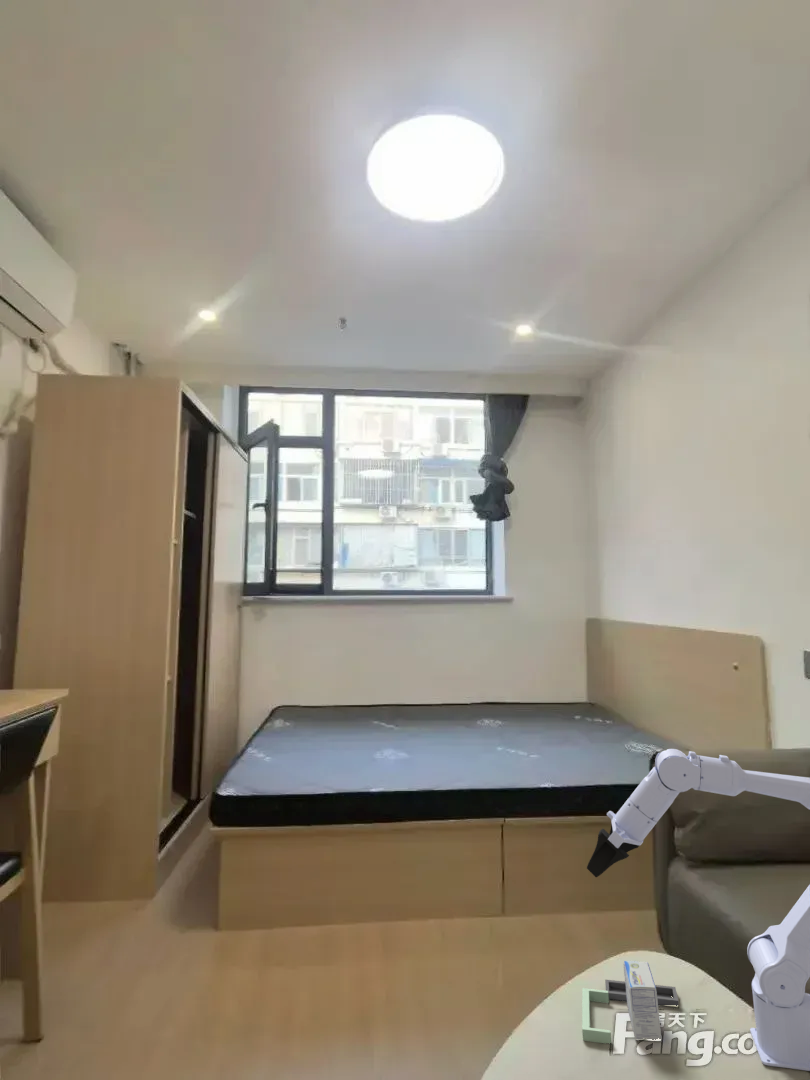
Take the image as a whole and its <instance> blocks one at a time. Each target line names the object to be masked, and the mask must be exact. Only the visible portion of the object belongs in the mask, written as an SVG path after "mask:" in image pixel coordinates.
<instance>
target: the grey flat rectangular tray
mask: <svg viewBox="0 0 810 1080" xmlns="http://www.w3.org/2000/svg"><path fill="white" fill-rule="evenodd" d="M655 987H656V991H657V1000H658V1006H659V1005H676V1006H677V1005H679V1006H680V1003H679V998H678V992H677V988H676V986H668V985H660V984H655ZM671 996H672V997H673V998H672V997H671Z"/></svg>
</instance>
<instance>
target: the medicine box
mask: <svg viewBox="0 0 810 1080" xmlns="http://www.w3.org/2000/svg"><path fill="white" fill-rule="evenodd" d="M623 972H624V973H623V974H624V982H625V985H626V997H627V1002H626V1005H627V1012H628V1017H629V1019H630V1023H631V1027H632V1032H633V1037H634V1040H635V1039H643V1038H645V1039H646V1038H647V1039H652V1040H654V1039H655V1040H656V1039H658V1038H659V1039H661V1040H663V1038H662V1032H661V1031H662V1030H661V1022H660V1011H659V1005H658V1000H657V991H656V987H655V985H656V984H655V982H654V977H653V973H652V971H651V968H650V964H649V962H648V961H638V960H637V961H636V960H623Z"/></svg>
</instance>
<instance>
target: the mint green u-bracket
mask: <svg viewBox="0 0 810 1080" xmlns="http://www.w3.org/2000/svg"><path fill="white" fill-rule="evenodd" d="M581 991H582V992H581V994H582V995H581V1001H582V1002H581V1007H582V1008H581V1016H582V1017H581V1030H582V1031H581V1033H582V1041H585V1042H591V1043H592V1042H593V1043H598V1044H599V1043H601V1044H606V1043H609V1044H608V1045H611V1044H610V1043H612V1034H611V1032H612V1031H611V1030H610V1029H603V1028H594V1027H591V1002H595V1003H605V1004H609V1003H610V1000H609V997H608V991H606V989H605V990H604V989H596V988H595V989H594V988H586V987H582V988H581Z"/></svg>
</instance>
